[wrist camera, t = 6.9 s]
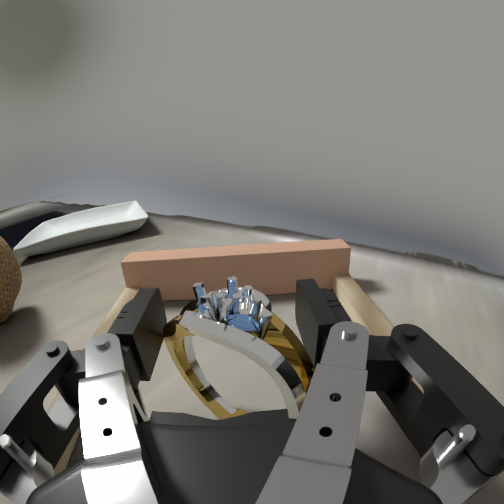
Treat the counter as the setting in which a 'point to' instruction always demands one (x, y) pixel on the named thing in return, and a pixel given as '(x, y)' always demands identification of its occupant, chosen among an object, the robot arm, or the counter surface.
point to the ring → (239, 343)
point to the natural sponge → (8, 280)
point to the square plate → (83, 228)
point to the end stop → (237, 267)
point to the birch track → (343, 287)
